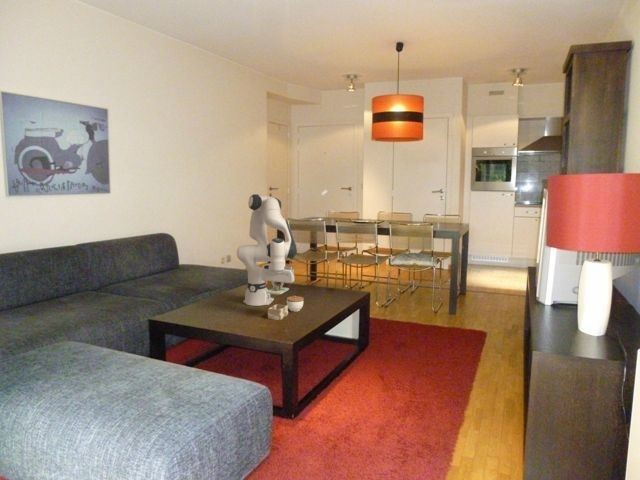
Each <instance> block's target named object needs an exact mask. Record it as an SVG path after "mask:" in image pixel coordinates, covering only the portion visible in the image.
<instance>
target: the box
mask: <svg viewBox="0 0 640 480" xmlns="http://www.w3.org/2000/svg"><path fill="white" fill-rule="evenodd" d="M287 316H289V308H288V305H287V304H286V305H285V304H277V303H276V304H274V305H272V306H271V307H269V308H268V309H267V319H268V320H276V321H281V320H283V319H284V318H286V317H287Z"/></svg>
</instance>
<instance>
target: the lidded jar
mask: <svg viewBox="0 0 640 480" xmlns="http://www.w3.org/2000/svg"><path fill="white" fill-rule="evenodd" d="M304 299H305V297H303V296H296V295H293V296H288V297H286V305H288V310H289V311H290V312H300V310H302V308H303V307H304Z"/></svg>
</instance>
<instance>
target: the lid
mask: <svg viewBox="0 0 640 480" xmlns="http://www.w3.org/2000/svg"><path fill="white" fill-rule="evenodd" d="M275 285H276V286H274V289H273V287H272V288H271V289H268V291H266V293H270V295H278V296H280V295H282V294H284V293H286V292H287V291H289V290H290V288H289V287H282V289H279V286H281V283H280V284H275Z"/></svg>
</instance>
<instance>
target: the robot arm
mask: <svg viewBox="0 0 640 480" xmlns="http://www.w3.org/2000/svg"><path fill="white" fill-rule="evenodd" d="M248 207H249V210H252V212H251V216H250V219H249V221H250V222H249V237H250V238H251V239H252V240H254V241H255V242H257V244H244V245H243V244H242V245H239V246H238V247H237V250H236V256H237V258H238V260H239V261H240V262H241V263H243V265H244V266H245V268H246V271H247V283H246V288H247V289H246V290H245V295H244V296H245V297H244V300H243V303H244V304H246V305H248V306H255V307H256V306H257V307H258V306H266V305H267V306H269V305H270V304H272V303H273V301H274V299H275V298H274V297H271V294H270V293H266V291H268V290H269V289H268V288H267V285H268V282H271V284H272V288H273V289H274V286H276V285H277V284H275V283H276V282H277V283H280V285H281V286H279V289H282V288H283V287H284V284H285V283H287V284H293V283H295V269H294V268H293V267H291V266H290V267H289V266H286V259H293V258H295V256H297V254H298V248H297V244H296V242H295V239H294V237H293V233H292V230H291V228H290V225H289V223H288V220H286V219H285V218H284V217H283V215H282V211H281V209H282V201H281V200H280V199H278V198H276V197H273V196H269V195H264V194H263V195H262V194H261V195H260V194H255V193H254V194H251V195H250V197H249V199H248ZM267 227H269V228H272V229H276V230H278V231H281V232H282V233H283V235H284V238H285V240H284V239H283V238H279V237H277V238H276V237H275V238H273V239H271V241H268V237H267V229H268V228H267ZM259 262H260V263H265V264H263V265H262V267H260V266H259V265H258V264H257V263H259ZM267 262H269V263H267Z"/></svg>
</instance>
